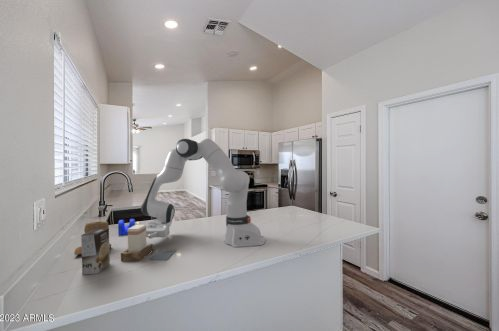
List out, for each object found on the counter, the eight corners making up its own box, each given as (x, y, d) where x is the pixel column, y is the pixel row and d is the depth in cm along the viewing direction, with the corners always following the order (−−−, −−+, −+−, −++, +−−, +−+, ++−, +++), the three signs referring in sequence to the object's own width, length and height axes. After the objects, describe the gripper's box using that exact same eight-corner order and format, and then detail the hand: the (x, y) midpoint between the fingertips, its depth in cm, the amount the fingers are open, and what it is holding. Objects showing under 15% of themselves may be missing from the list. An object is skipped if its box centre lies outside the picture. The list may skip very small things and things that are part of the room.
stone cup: (110, 244, 126) (109, 217, 126) (111, 250, 116) (110, 221, 116) (76, 250, 118) (75, 221, 118) (74, 258, 108) (73, 226, 108)
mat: (175, 251, 114) (175, 250, 114) (166, 260, 103) (166, 259, 103) (158, 251, 114) (158, 250, 114) (147, 260, 103) (147, 259, 103)
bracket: (133, 234, 144) (132, 220, 144) (118, 235, 141) (118, 221, 141) (138, 226, 161) (137, 214, 161) (124, 228, 158) (124, 215, 158)
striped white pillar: (146, 252, 113) (145, 224, 112) (138, 258, 106) (138, 228, 105) (136, 252, 113) (136, 224, 113) (128, 258, 106) (127, 228, 106)
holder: (153, 250, 115) (152, 243, 115) (140, 261, 103) (139, 253, 103) (135, 250, 116) (135, 243, 116) (121, 260, 104) (120, 253, 104)
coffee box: (98, 273, 92) (97, 234, 91) (81, 275, 91) (80, 235, 91) (110, 263, 101) (109, 227, 101) (95, 264, 100) (94, 228, 100)
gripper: (136, 223, 127) (120, 230, 113) (171, 223, 125) (160, 230, 111) (136, 234, 127) (120, 243, 113) (172, 234, 125) (160, 243, 112)
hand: (140, 237), depth 112 cm, fingers open, 8 cm apart
